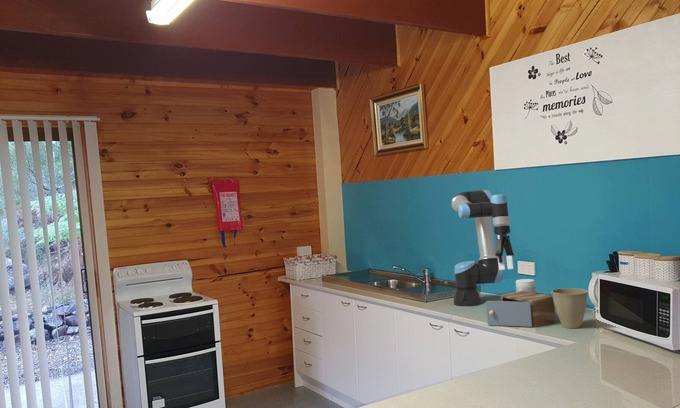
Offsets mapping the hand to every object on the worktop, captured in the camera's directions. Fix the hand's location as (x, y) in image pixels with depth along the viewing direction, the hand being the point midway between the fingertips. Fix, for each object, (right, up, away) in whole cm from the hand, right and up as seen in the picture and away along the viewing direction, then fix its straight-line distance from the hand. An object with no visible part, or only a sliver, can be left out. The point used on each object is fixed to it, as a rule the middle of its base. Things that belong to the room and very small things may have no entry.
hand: (506, 269), depth 260 cm
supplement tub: (+17, -23, +20) cm, 35 cm away
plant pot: (+23, -23, -21) cm, 39 cm away
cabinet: (+9, -24, -5) cm, 26 cm away
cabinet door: (-3, -24, -14) cm, 28 cm away
